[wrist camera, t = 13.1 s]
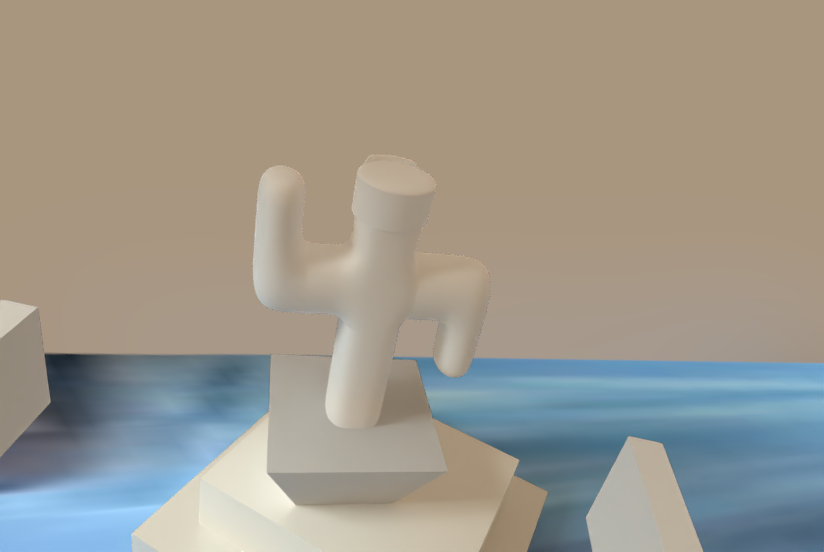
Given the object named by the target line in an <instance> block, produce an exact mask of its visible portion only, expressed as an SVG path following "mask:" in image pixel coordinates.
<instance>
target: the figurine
mask: <svg viewBox="0 0 824 552" xmlns="http://www.w3.org/2000/svg"><path fill="white" fill-rule="evenodd" d="M435 189H436V182H435V180H434V179H433V177H432V176H431V175H429V174H428V173H427V172H425V171H423V170H422V169H419V168H418V167H417V164H416V162H415V161H414V160H411V159H408V158H404V157H399V156H394V155H387V154H374V155H370V156H369V157H368V158H367V159H366V160H365V163H364V164H363V165H361V166H360V167H359V169H358V172H357V177H356V183H355V189H354V195H353V201H352V213H353V214H354V223H353V230H352V235H351V237H350V238H349V240H348V241H347V242H345V243H342V244H325V243H313V242H308V241H306V240H305V239H304V238H303V236H302V219H303V210H304V200H305V185H304V181H303V178H302V177H301V175H300V174H299V173H298V171H296V170H295V169H293V168H291V167H288V166H281V165H279V166H273V167H271V168H269V169H267V170H266V171H265V172H264V174H263V175H262V177H261V180H260V183H259V188H258V197H257V210H256V224H255V237H254V252H253V283H254V288H255V292H256V295H257V297H258V299H259V301H260V302H261V303H262V304H263V305H264V306H266V307H268V308H270V309H272V310H276V311H283V312H298V313H314V314H329V315H334V316H337V317H338V324H337V330H336V336H335V342H334V349H333V355H332V357H328V356H304V355H280V354H271V364H270V391H269V419H268V446H267V474H268V475H269V476H270V477H271V478H272V479H273V481H274V482H275V483H276V484H277V485H278V486H279V487H280V488H281V489H282V491H283V492H284V493H285V494H286V495H287V496H288V497H289V498H290V499H291V501H292V502H293V503H294V504H295V505H327V504H380V503H394V502H396V501H398V500H399V499H401V498H403V497H405V496H406V495H408V494H410V493H412V492H413V491H415V490H417V489H419V488H420V487H422V486H424V485H426V484H427V483H429V482H431V481H433V480H434V479H436V478H438V477H440V476H442V475H443V474H445V473H447V472H448V470H447V466H446V463H445V459H444V456H443V452H442V449H441V445H440V442H439V438H438V435H437V431H436V428H435V424H434V421H433V417H432V414H431V410H430V407H429V404H428V400H427V397H426V393H425V390H424V386H423V383H422V379H421V376H420V372H419V369H418V365H417V362H416V360H398V359H393V354H394V349H395V345H396V341H397V336H398V332H399V327H400V326H401V324H402V323H403V322H404V321H405V320H406V319H414V320H432V321H439V325H438V330H437V334H436V338H435V342H434V347H433V357H434V361H435V364H436V366H437V367H438V369H439V370H440V371H441V372H442V373H443V374H445V375H447V376H449V377H461V376H463V375H464V374H465V373H466V372H467V371H468V370H469V367H470V365H471V362H472V359H473V356H474V353H475V349H476V346H477V343H478V339H479V336H480V333H481V330H482V326H483V323H484V319H485V316H486V312H487V308H488V304H489V298H490V289H491V281H490V276H489V272H488V270H487V268H486V267H485V265H484V264H483V263H482V262H480V261H478V260H477V259H475V258H472V257H468V256H459V255H449V254H438V253H426V252H416V250H417V246H418V242H419V237H420V233H421V230H422V228H423V227H424V226H425V225H426V224H427V221H428V217H429V213H430V209H431V204H432V201H433V197H434V193H435Z"/></svg>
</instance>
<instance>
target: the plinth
mask: <svg viewBox="0 0 824 552" xmlns="http://www.w3.org/2000/svg"><path fill="white" fill-rule="evenodd" d="M268 419H269V411H268V412H267V413H266V414H265V415H264V416H263V417H261V418H260V419H259V420H258V421H257V422H256V423H255V424H254V425H252V426H251V427H250V428H249V429H248V430H247V431H246V432H245V433H244V434H242V435H241V436H240V437H239V438H238V439H237V440H236V441H235V442H233V443H232V444H231V445H230V446H229V447H228V448H227V449H226V450H224V451H223V452H222V453H221V454H220V455H219V456H218V457H217V458H216V459H214V460H213V461H212V462H211V463H210V464H209V465H208V466H207V467H205V468H204V469H203V470H202V471H201V472H200V473H199V474H198V475H196V476H195V477H194V478H193V479H192V480H191V481H190V482H189V483H187V484H186V485H185V486H184V487H183V488H182V489H181V490H180V491H179V492H177V493H176V494H175V495H174V496H173V497H172V498H171V499H170V500H168V501H167V502H166V503H165V504H164V505H163V506H162V507H161V508H159V509H158V510H157V511H156V512H155V513H154V514H153V515H152V516H151V517H149V518H148V519H147V520H146V521H145V522H144V523H143V524H142V525H140V526H139V527H138V528H137V529H136V530H135V531H134V532H133V533H131V538H132V552H527V550H528V547H529V545H530V542H531V539H532V536H533V533H534V531H535V528H536V525H537V522H538V519H539V516H540V514H541V511H542V508H543V505H544V502H545V500H546V497H547V494H548V491H546V490H543V489H541V488H539V487H537V486H535V485H533V484H531V483H529V482H527V481H525V480H523V479H521V478H519V477H517V476H515V475H514V473H515V471H516V468H517V466H518V463H519V459H517V458H514V457H512V456H510V455H508V454H506V453H504V452H502V451H500V450H498V449H496V448H494V447H492V446H490V445H487V444H485V443H483V442H481V441H479V440H477V439H475V438H473V437H471V436H469V435H467V434H465V433H463V432H461V431H458V430H456V429H454V428H452V427H450V426H448V425H446V424H444V423H442V422H440V421H438V420H436V419H434V418H433V421H434V424H435V428H436V431H437V435H438V438H439V442H440V445H441V449H442V452H443V456H444V459H445V463H446V466H447V470H448V472H447V473H445V474H443V475H442V476H440V477H438V478H436V479H434V480H433V481H431V482H429V483H427V484H426V485H424V486H422V487H420V488H419V489H417V490H415V491H413V492H412V493H410V494H408V495H406V496H405V497H403V498H401V499H399V500H398V501H396V502H394V503H380V504H327V505H295V504H294V503H293V502H292V501H291V499H290V498H289V497H288V496H287V495H286V494H285V493H284V492H283V491H282V489H281V488H280V487H279V486H278V485H277V484H276V483H275V482H274V481H273V479H272V478H271V477H270V476H269V475H268V474H267V446H268Z"/></svg>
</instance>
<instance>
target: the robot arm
mask: <svg viewBox="0 0 824 552" xmlns="http://www.w3.org/2000/svg"><path fill="white" fill-rule="evenodd" d="M50 403H51V402H50V394H49V386H48V379H47V371H46V364H45V356H44V349H43V341H42V333H41V326H40V318H39V311H38V307H35V306H30V305H26V304H21V303H16V302H12V301H7V300H1V301H0V457H1V456H2V455H3V454H4V453H5V452H6V450H7V449H8V448H9V447H10V446H11V445H12V444H13V443H14V442H15V441H16V440H17V438H18V437H19V436H20V435H21V434H22V433H23V432H24V431H25V430H26V429H27V428H28V426H29V425H30V424H31V423H32V422H33V421H34V420H35V419H36V418H37V417H38V416H39V415H40V413H41V412H42V411H43V410H44V409H45V408H46V407H47V406H48V405H49V404H50ZM586 521H587V526H588V531H589V536H590V541H591V546H592V552H703V550H702V547H701V544H700V542H699V539H698V536H697V534H696V531H695V529H694V526H693V523H692V521H691V518H690V515H689V513H688V510H687V507H686V505H685V502H684V499H683V497H682V494H681V491H680V489H679V486H678V483H677V481H676V478H675V476H674V473H673V470H672V468H671V465H670V462H669V460H668V457H667V454H666V452H665V449H664V446H663V444H662V443H658V442H654V441H649V440H645V439H640V438H636V437H631V436H628V438H627V440H626V442H625V444H624V446H623V448H622V450H621V452H620V453H619V455H618V457H617V459H616V461H615V463H614V465H613V467H612V469H611V471H610V472H609V474H608V476H607V478H606V480H605V482H604V484H603V486H602V488H601V490H600V491H599V493H598V495H597V497H596V499H595V501H594V503H593V505H592V507H591V509H590V510H589V512H588V514H587V516H586Z"/></svg>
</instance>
